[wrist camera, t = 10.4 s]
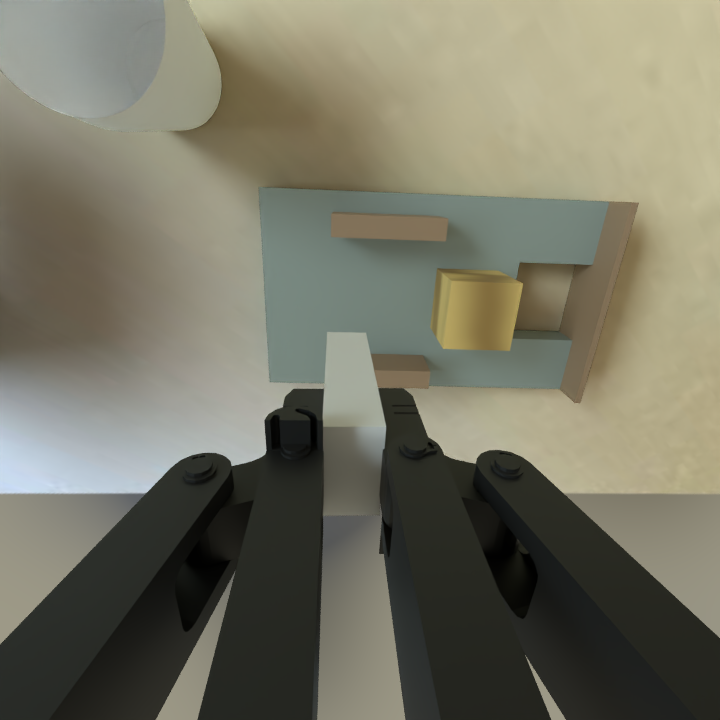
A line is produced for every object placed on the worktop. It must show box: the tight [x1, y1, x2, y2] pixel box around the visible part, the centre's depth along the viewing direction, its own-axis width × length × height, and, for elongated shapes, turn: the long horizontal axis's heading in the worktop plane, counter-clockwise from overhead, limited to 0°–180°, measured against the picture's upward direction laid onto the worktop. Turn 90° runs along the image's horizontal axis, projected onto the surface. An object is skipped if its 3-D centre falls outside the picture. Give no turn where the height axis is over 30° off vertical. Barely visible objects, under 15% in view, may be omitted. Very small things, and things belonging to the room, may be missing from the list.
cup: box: [0, 0, 222, 132], centre depth 23 cm, size 9×9×12 cm
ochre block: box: [430, 268, 523, 351], centre depth 30 cm, size 5×5×5 cm
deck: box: [259, 187, 639, 403], centre depth 32 cm, size 27×16×6 cm, turn 88°
